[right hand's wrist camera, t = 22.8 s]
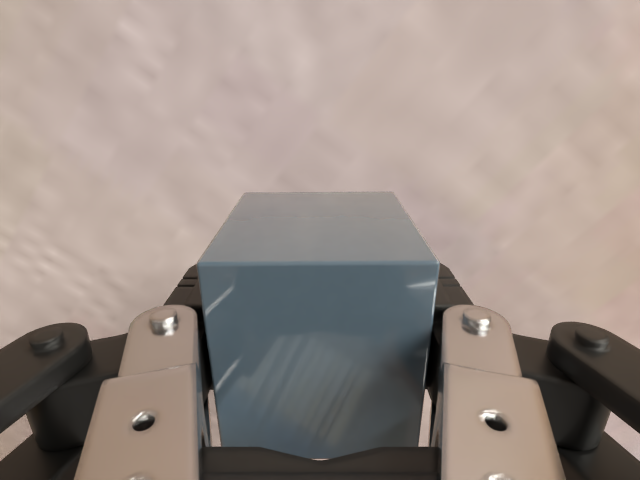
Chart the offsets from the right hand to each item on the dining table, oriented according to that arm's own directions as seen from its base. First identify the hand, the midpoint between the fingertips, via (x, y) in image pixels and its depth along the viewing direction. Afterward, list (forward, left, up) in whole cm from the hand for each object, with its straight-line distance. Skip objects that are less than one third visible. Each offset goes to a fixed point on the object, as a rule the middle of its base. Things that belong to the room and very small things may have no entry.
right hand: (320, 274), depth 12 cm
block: (0, 0, 0) cm, 0 cm away
